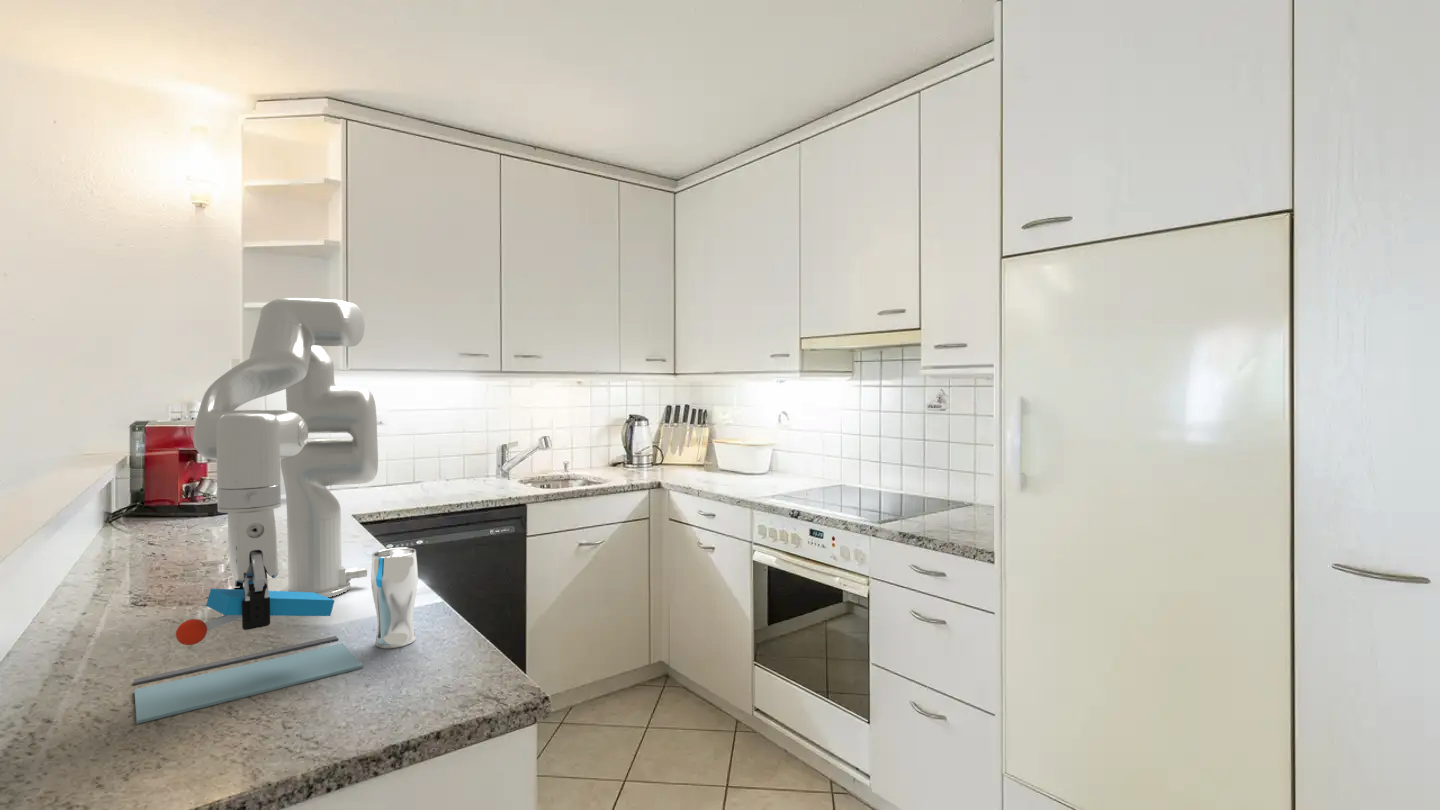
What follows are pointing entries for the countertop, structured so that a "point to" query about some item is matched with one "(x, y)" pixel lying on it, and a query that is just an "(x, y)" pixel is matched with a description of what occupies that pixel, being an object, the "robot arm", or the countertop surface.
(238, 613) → the lever
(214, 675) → the mat
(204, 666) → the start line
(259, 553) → the robot arm
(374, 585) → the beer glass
